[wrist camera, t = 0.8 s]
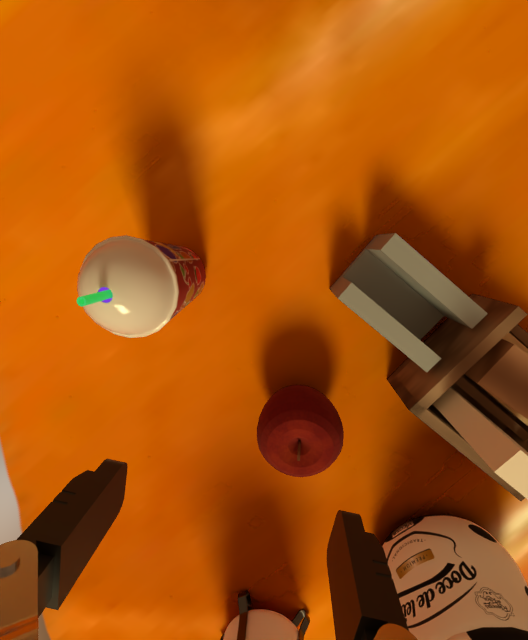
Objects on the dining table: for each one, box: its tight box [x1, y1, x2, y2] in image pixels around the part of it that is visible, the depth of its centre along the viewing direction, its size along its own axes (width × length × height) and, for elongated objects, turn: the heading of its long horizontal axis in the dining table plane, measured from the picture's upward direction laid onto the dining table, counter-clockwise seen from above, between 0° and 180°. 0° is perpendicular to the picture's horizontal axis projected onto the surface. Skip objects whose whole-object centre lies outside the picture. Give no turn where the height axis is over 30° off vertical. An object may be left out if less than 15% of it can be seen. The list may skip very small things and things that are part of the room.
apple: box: [257, 385, 344, 477], centre depth 38 cm, size 10×10×10 cm
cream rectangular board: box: [433, 387, 528, 499], centre depth 33 cm, size 2×11×16 cm, turn 51°
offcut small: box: [465, 339, 528, 419], centre depth 34 cm, size 5×9×3 cm, turn 55°
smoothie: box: [77, 236, 206, 338], centre depth 31 cm, size 8×8×20 cm
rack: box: [387, 294, 528, 501], centre depth 37 cm, size 14×16×8 cm
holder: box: [330, 233, 488, 372], centre depth 36 cm, size 8×12×7 cm, turn 51°
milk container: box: [382, 515, 528, 640], centre depth 38 cm, size 17×17×18 cm
